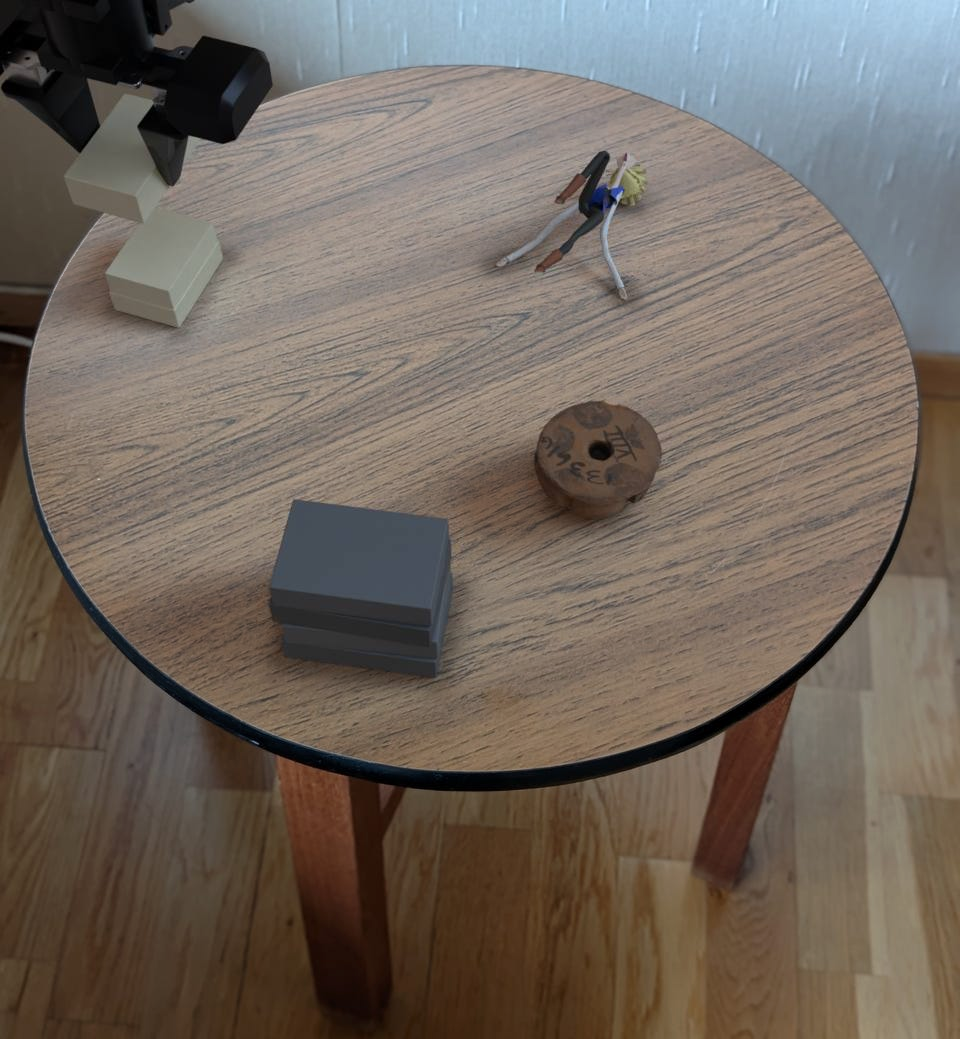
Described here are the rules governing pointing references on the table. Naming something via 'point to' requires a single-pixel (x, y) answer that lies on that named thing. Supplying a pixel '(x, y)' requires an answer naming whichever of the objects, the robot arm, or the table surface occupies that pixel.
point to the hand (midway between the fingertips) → (137, 171)
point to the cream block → (119, 166)
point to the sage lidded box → (164, 267)
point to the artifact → (597, 458)
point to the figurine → (592, 208)
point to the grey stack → (363, 587)
